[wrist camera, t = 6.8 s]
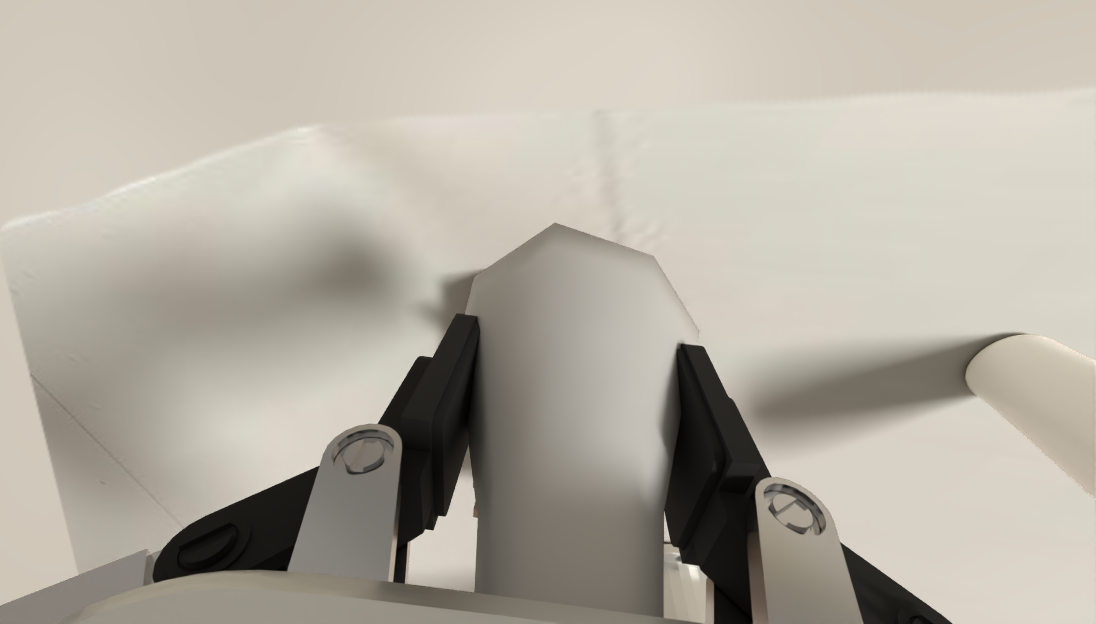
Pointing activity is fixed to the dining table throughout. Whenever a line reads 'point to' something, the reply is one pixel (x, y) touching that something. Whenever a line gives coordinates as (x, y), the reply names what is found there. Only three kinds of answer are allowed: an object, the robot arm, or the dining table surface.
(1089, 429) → the drinking glass
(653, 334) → the flask
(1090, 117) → the dining table surface
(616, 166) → the dining table surface
